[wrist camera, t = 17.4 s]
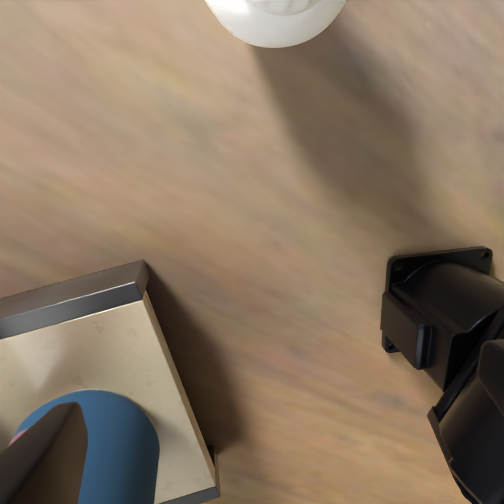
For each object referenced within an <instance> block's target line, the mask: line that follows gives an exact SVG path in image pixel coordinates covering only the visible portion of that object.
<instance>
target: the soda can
mask: <svg viewBox="0 0 504 504" xmlns="http://www.w3.org/2000/svg"><path fill="white" fill-rule="evenodd" d="M74 401H76V402H78V403H79V404H80V406H81V409H82V412H83V416H84V419H85V423H86V427H87V430H88V448H87V454H86V459H85V465H84V471H83V477H82V482H81V488H80V494H79V500H78V504H154V500H155V490H156V481H157V472H158V463H159V454H160V444H159V439H158V435H157V433H156V430H155V428H154V426H153V424H152V423H151V421H150V420H149V418H148V417H147V416H146V414H145V413H144V412H143V410H142V409H141V408H140V407H139V406H138V405H137V404H136V403H135V402H134V401H133V400H131V399H130V398H128V397H126V396H125V395H122V394H120V393H118V392H114V391H111V390H106V389H82V390H77V391H73V392H70V393H68V394H65V395H63V396H61V397H58V398H56V399H54V400H52V401H50V402H48V403H46V404H44V405H42V406H41V407H39V408H38V409H36V410H35V411H34V412H32V413H31V414H30V415H29V416H28V417H27V418H26V419H25V420H24V421H23V422H22V423H21V425H20V426H19V428H18V429H17V431H16V433H15V435H14V436H13V438H12V440H11V442H10V443H9V445H10V444H11V443H13V442H14V441H15V440H16V439H17V438H18V437H19V436H21V435H22V434H23V433H24V432H25V431H26V430H28V429H29V428H30V427H31V426H32V425H33V424H34V423H36V422H37V421H38V420H39V419H40V418H41V417H42V416H44V415H45V414H46V413H47V412H48V411H49V410H50V409H52V408H53V407H54V406H55V405H57V404H60V403H67V402H74ZM9 445H8V446H9Z"/></svg>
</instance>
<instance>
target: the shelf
mask: <svg viewBox="0 0 504 504" xmlns="http://www.w3.org/2000/svg"><path fill="white" fill-rule="evenodd" d="M149 276H150V275H149V272H148V269H147V267H146V264H145V261H144V260H140V261H136V262H132V263H129V264H125V265H121V266H118V267H114V268H110V269H107V270H103V271H100V272H96V273H92V274H89V275H85V276H81V277H78V278H74V279H70V280H67V281H63V282H60V283H56V284H52V285H49V286H45V287H41V288H38V289H34V290H30V291H27V292H23V293H19V294H16V295H12V296H9V297H5V298H1V299H0V453H1V452H2V451H3V450H5V449H6V448H7V447H8V445H9V443H10V442H11V440H12V438H13V436H14V435H15V433H16V431H17V429H18V428H19V426H20V425H21V423H22V422H23V421H24V420H25V419H26V418H27V417H28V416H29V415H30V414H31V413H32V412H34V411H35V410H36V409H38V408H39V407H41V406H42V405H44V404H46V403H48V402H50V401H52V400H54V399H56V398H58V397H61V396H63V395H65V394H68V393H70V392H73V391H77V390H82V389H106V390H111V391H114V392H118V393H120V394H122V395H125V396H126V397H128V398H130V399H131V400H133V401H134V402H135V403H136V404H137V405H138V406H139V407H140V408H141V409H142V410H143V412H144V413H145V414H146V416H147V417H148V418H149V420H150V421H151V423H152V424H153V426H154V428H155V430H156V433H157V435H158V439H159V444H160V454H159V463H158V472H157V481H156V490H155V500H154V504H199V503H203V502H206V501H209V500H212V499H215V498H219V497H220V485H219V470H218V456H217V453H216V451H215V448H214V446H212V447H209V448H207V447H206V444H205V442H204V439H203V437H202V434H201V432H200V429H199V426H198V424H197V421H196V419H195V416H194V413H193V411H192V408H191V406H190V403H189V400H188V398H187V395H186V393H185V390H184V387H183V385H182V382H181V380H180V377H179V374H178V372H177V369H176V367H175V364H174V361H173V359H172V356H171V354H170V351H169V349H168V346H167V343H166V341H165V338H164V336H163V333H162V330H161V328H160V325H159V323H158V320H157V317H156V315H155V312H154V310H153V307H152V304H151V302H150V299H149V297H148V294H147V291H146V290H145V289H146V286H147V282H148V279H149Z"/></svg>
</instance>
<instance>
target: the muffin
mask: <svg viewBox="0 0 504 504" xmlns="http://www.w3.org/2000/svg"><path fill="white" fill-rule="evenodd" d="M205 1H206V2H207V4H208V6H209V8H210V9H211V11H212V12H213V14H214V15H215V17H216V18H217V19H218V20H219V22H220V23H221V24H222V25H223V26H224V27H225V28H226V29H227V30H228V31H229V32H230V33H231V34H232V35H234V36H235V37H237V38H238V39H240V40H242V41H244V42H246V43H248V44H251V45H255V46H259V47H266V48H282V47H289V46H293V45H297V44H300V43H303V42H306V41H308V40H310V39H312V38H313V37H315V36H317V35H318V34H319V33H321V32H322V31H323V30H324V29H326V28H327V27H328V26H329V25H330V24H331V23H332V21H333V20H334V19H335V18H336V17H337V15H338V14H339V13H340V11H341V10H342V8H343V6H344V5H345V3H346V1H347V0H205Z"/></svg>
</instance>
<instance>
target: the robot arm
mask: <svg viewBox="0 0 504 504" xmlns="http://www.w3.org/2000/svg"><path fill="white" fill-rule="evenodd" d="M483 253H484V255H483V256H482V254H483ZM481 256H482V257H481ZM492 256H493V252H492V250H491V249H489V248H487V247H484V246H479V247H470V248H461V249H452V250H444V251H435V252H426V253H417V254H408V255H400V256H394V257H392V258H390V259H389V261H388V263H387V271H386V286H385V291H384V293H383V295H382V310H381V325H380V329H381V330H382V347H383V348H384V349H385V351H386V352H388V353H395V352H401V353H402V354H403V356H404V357H405V358H406V359H407V360H408V361H409V362H410V364H411V365H412V366H413V367H414V368H416V369H417V370H422V369H423V370H424V371H425V372H426V373H427V374H428V375H429V376H430V378H431V379H432V380H433V381H434V382H435V383H436V384H437V385H438V386H439V388H440V389H441V390H442V391H443V392H444V394H443V395H442V397H441V398H440V400H439V401H438V403H437V404H436V406H433V407H432V408H431V409H430V411H429V412H428V414H427V417H428V419H429V421H430V424H431V426H432V428H433V431H434V433H435V436H436V438H437V440H438V443H439V445H440V447H441V450H442V452H443V454H444V457H445V459H446V462H447V464H448V466H449V469H450V471H451V473H452V476H453V478H454V480H455V481H456V483H457V485H458V487H459V488H460V490H461V492H462V494H463V496H464V497H465V498H466V499H467V500H469V501H470V502H471V503H472V504H504V282H503V281H501V280H499V279H497V278H495V277H493V276H491V275H489V274H490V268H491V262H492ZM398 262H399V265H398V266H397V267H396V268H394V266H395V264H396V263H398ZM391 343H392V345H391V346H389V344H391ZM87 448H88V430H87V427H86V423H85V419H84V416H83V412H82V409H81V406H80V404H79V403H78V402H76V401H74V402H67V403H60V404H57V405H55V406H54V407H53V408H52V409H50V410H49V411H48V412H47V413H46V414H45V415H44V416H42V417H41V418H40V419H39V420H38V421H37V422H36V423H34V424H33V425H32V426H31V427H30V428H29V429H28V430H26V431H25V432H24V433H23V434H22V435H21V436H19V437H18V438H17V439H16V440H15V441H14V442H13V443H11V444H10V445H9V446H8V447H7V448H6V449H5V450H3V451H2V452H1V453H0V504H78V500H79V494H80V488H81V482H82V477H83V471H84V465H85V459H86V454H87Z"/></svg>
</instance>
